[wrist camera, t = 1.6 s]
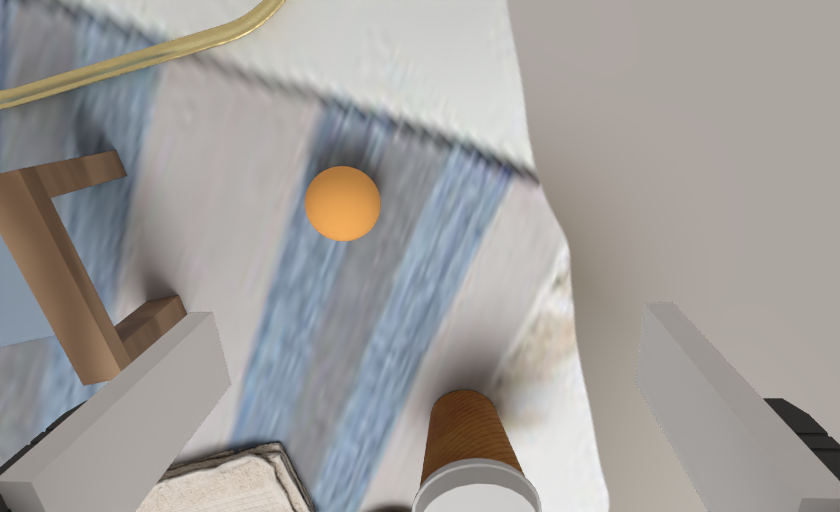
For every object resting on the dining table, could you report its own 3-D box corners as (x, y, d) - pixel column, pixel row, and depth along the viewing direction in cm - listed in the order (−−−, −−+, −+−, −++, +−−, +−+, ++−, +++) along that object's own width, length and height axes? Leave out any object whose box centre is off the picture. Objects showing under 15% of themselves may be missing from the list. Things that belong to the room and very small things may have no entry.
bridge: (155, 322, 40) (83, 385, 32) (79, 158, 36) (-30, 180, 27) (187, 315, 40) (124, 377, 32) (116, 150, 35) (17, 169, 27)
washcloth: (327, 515, 49) (321, 542, 46) (177, 555, 51) (162, 584, 48) (280, 429, 45) (270, 453, 42) (119, 476, 47) (99, 501, 44)
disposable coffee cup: (461, 356, 42) (477, 454, 30) (534, 414, 44) (574, 526, 33) (392, 420, 44) (383, 534, 33) (464, 472, 46) (479, 596, 35)
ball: (325, 235, 38) (310, 258, 33) (305, 169, 36) (286, 182, 31) (390, 221, 37) (385, 242, 32) (373, 153, 36) (366, 165, 30)
